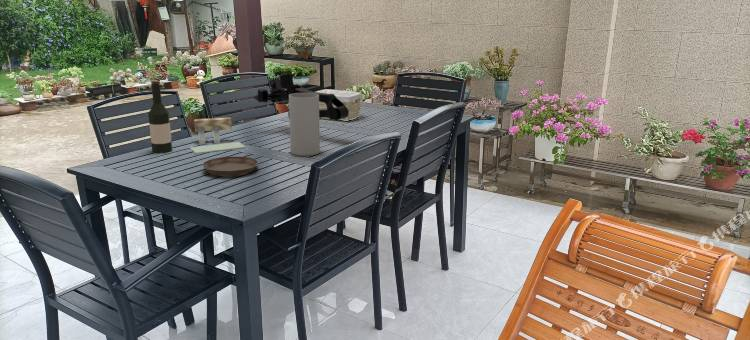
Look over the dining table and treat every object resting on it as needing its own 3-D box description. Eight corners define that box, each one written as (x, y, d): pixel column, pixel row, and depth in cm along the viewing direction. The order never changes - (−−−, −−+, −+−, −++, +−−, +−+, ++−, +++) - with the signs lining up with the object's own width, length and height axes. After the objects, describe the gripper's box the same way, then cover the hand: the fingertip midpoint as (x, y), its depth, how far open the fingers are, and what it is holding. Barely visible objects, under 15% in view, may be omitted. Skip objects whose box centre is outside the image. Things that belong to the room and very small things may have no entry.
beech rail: (230, 127, 261) (230, 117, 259) (231, 129, 257) (231, 118, 256) (195, 130, 255) (194, 119, 254) (195, 131, 252) (194, 120, 251)
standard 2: (218, 139, 262) (217, 122, 260) (220, 143, 255) (218, 126, 253) (213, 139, 261) (211, 122, 259) (214, 143, 254) (213, 126, 252)
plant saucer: (236, 160, 229) (235, 152, 228) (269, 170, 217) (268, 162, 216) (192, 171, 214) (191, 163, 213) (225, 182, 201) (224, 174, 200)
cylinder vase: (314, 157, 234) (313, 98, 227) (286, 155, 236) (284, 96, 229) (323, 150, 246) (322, 93, 238) (296, 148, 248) (294, 92, 241)
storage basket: (362, 118, 314) (362, 91, 310) (349, 123, 300) (349, 96, 296) (325, 113, 324) (325, 88, 319) (311, 118, 310) (310, 92, 305)
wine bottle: (165, 154, 236) (158, 83, 227) (148, 152, 238) (140, 82, 229) (176, 149, 244) (169, 80, 235) (159, 148, 245) (152, 79, 237)
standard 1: (204, 140, 260) (202, 123, 258) (205, 144, 253) (204, 126, 251) (198, 140, 259) (197, 123, 257) (199, 144, 252) (198, 127, 250)
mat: (239, 142, 256) (239, 141, 256) (245, 147, 248) (245, 146, 247) (190, 148, 245) (190, 147, 245) (195, 153, 237) (195, 152, 237)
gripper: (296, 81, 278) (274, 84, 287) (269, 77, 263) (246, 80, 272) (297, 103, 279) (275, 105, 288) (270, 101, 263) (247, 103, 272)
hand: (261, 98), depth 280 cm, fingers open, 9 cm apart
